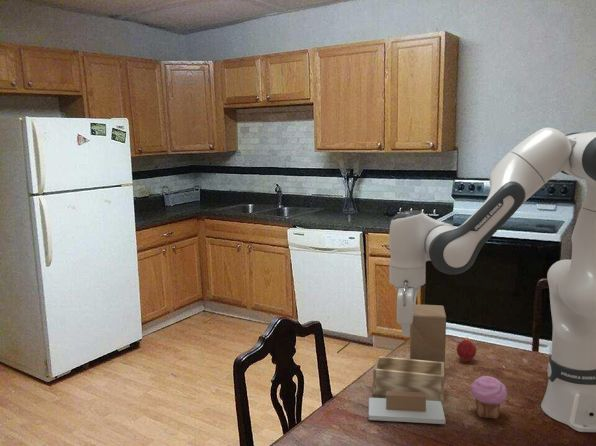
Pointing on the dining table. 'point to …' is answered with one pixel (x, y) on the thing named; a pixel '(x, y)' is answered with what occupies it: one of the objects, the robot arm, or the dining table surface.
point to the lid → (406, 408)
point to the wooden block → (428, 333)
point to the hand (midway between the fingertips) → (407, 328)
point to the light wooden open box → (408, 377)
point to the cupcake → (488, 396)
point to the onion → (466, 350)
